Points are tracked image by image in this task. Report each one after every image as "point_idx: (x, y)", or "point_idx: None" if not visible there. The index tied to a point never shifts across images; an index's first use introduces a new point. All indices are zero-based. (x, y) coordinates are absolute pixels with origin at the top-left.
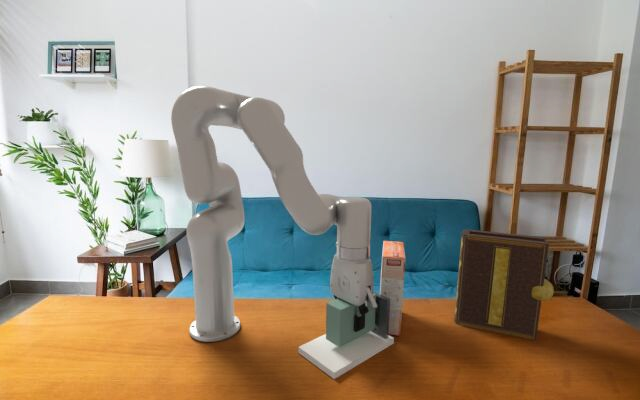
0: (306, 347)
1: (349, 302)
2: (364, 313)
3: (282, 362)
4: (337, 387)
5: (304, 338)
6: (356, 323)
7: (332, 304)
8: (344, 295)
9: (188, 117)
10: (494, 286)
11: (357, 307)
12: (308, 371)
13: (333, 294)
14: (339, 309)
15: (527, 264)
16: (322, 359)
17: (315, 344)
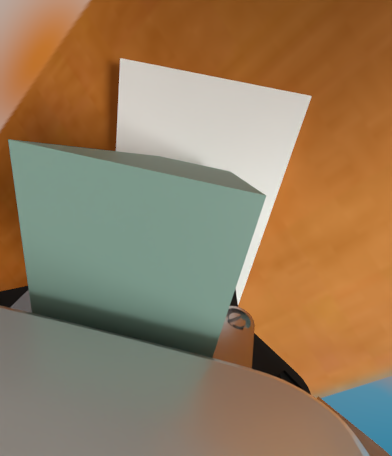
0: (281, 114)
1: (11, 311)
2: (11, 289)
3: (324, 7)
4: (101, 43)
5: (324, 186)
6: None
7: (174, 204)
8: (40, 398)
9: None
10: None
11: (28, 309)
12: (214, 40)
13: (275, 379)
14: (25, 145)
15: None
16: (192, 93)
17: (262, 153)
